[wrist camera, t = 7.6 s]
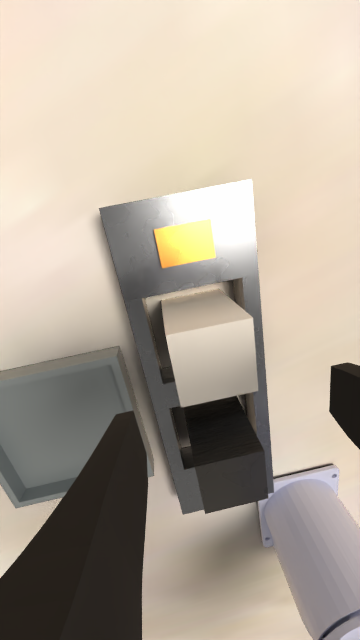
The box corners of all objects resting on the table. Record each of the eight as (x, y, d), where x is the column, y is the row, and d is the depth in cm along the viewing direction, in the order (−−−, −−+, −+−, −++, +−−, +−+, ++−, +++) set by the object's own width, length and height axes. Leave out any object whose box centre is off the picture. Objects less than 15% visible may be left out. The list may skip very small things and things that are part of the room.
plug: (225, 341, 18) (258, 390, 12) (171, 352, 18) (181, 407, 12) (218, 288, 17) (253, 317, 11) (160, 300, 16) (165, 335, 11)
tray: (153, 459, 21) (153, 475, 20) (25, 489, 21) (15, 508, 19) (119, 346, 17) (116, 355, 16) (-40, 379, 17) (-58, 393, 15)
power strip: (264, 471, 23) (300, 548, 17) (180, 491, 23) (189, 576, 17) (239, 185, 15) (293, 156, 9) (105, 211, 14) (75, 197, 9)
